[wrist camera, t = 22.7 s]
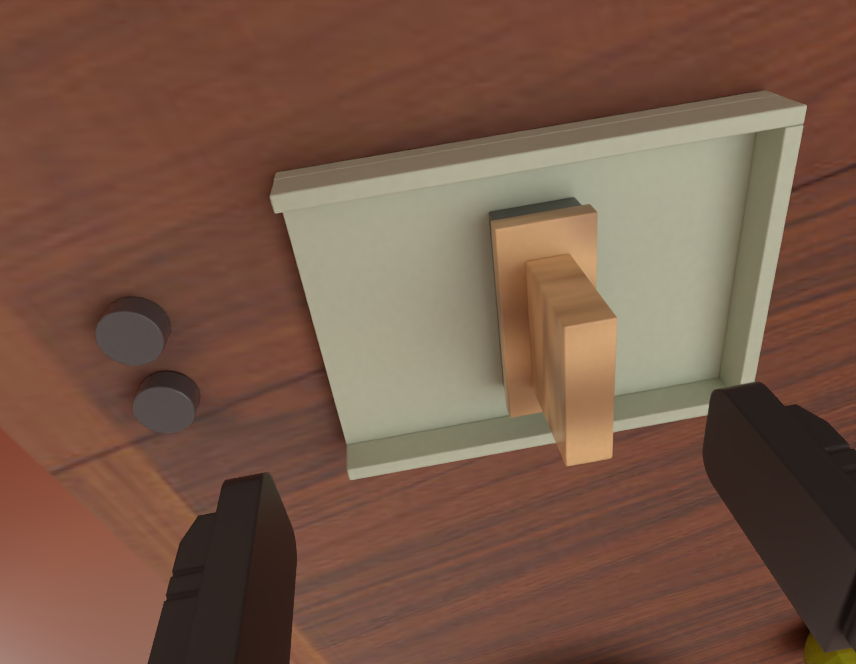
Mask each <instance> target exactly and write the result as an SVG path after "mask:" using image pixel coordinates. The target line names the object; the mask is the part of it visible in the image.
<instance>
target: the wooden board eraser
mask: <svg viewBox="0 0 856 664" xmlns="http://www.w3.org/2000/svg"><path fill="white" fill-rule="evenodd" d="M597 221H598V212H597V211H596V210H595V209H594V208H593V207H592V205H591V204H586V205H581V204H580V203H579V201H578V200H577V199H576V198H575V197H571V198H566V199H560V200H554V201H548V202H542V203H537V204H531V205H525V206H519V207H513V208H508V209H502V210H496V211H490V212H489V225H490V236H491V248H492V260H493V272H494V283H495V295H496V307H497V319H498V331H499V342H500V354H501V366H502V378H503V386H504V389H505V401H506V408H507V410H508V413H509V416H510V418H513V417H519V416H524V415H529V414H535V413H540V412H543V414H544V416H545V418H546V421H547V423H548V425H549V428H550V430H551V432H552V435H553V437H554V439H555V442H556V444H557V446H558V449H559V451H560V453H561V456H562V458H563V460H564V463H565V465H566V466H572V465H578V464H583V463H589V462H594V461H599V460H605V459H610V458H612V446H613V420H614V394H615V368H616V342H617V317H616V315H615V314H614V313H613V311H612V310H611V309H610V307H609V306H608V304H607V303H606V302H605V300H604V299H603V298H602V296H601V295H600V294H599V292H598V291H597V290H596V283H597Z"/></svg>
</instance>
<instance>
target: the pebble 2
mask: <svg viewBox="0 0 856 664" xmlns="http://www.w3.org/2000/svg"><path fill="white" fill-rule="evenodd" d="M199 402H200V393H199V390H198V388H197V386H196V385H195V383H194V382H193V381H192V380H190V379H189V378H188V377H186V376H184V375H182V374H179V373H176V372H169V371H164V372H158V373H154V374H152V375H150V376H148V377H147V378H146V379H145V380H144V381H143V382H142V383H141V385H140V387H139V390H138V392H137V394H136V396H135V399H134V401H133V413H134V415H135V417H136V419H137V420H138V421H139V422H140V423H141V424H142V425H143V426H145V427H146V428H148V429H150V430H153V431H156V432H160V433H175V432H179V431H181V430H183V429H185V428H187V427H188V426H189V425H190V424H191V423H192V422H193V420H194V418H195V415H196V411H197V408H198V405H199Z"/></svg>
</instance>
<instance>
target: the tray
mask: <svg viewBox="0 0 856 664" xmlns="http://www.w3.org/2000/svg"><path fill="white" fill-rule="evenodd" d="M806 108H807V105H805V104H802V103H799V102H796V101H793V100H791V99H788V98H785V97H782V96H779V95H778V94H775V93H772V92H769V91H766V90H764V91H758V92H752V93H746V94H740V95H734V96H728V97H722V98H716V99H710V100H704V101H698V102H692V103H686V104H680V105H675V106H669V107H663V108H657V109H651V110H645V111H639V112H633V113H627V114H621V115H615V116H609V117H603V118H597V119H591V120H585V121H579V122H573V123H567V124H561V125H556V126H550V127H544V128H538V129H532V130H526V131H520V132H514V133H508V134H502V135H496V136H490V137H484V138H478V139H472V140H466V141H460V142H454V143H448V144H442V145H436V146H431V147H425V148H419V149H413V150H407V151H401V152H395V153H389V154H383V155H377V156H371V157H365V158H359V159H353V160H347V161H341V162H335V163H329V164H323V165H317V166H312V167H306V168H300V169H294V170H288V171H282V172H276V174H275V178H274V183H273V186H272V190H271V193H270V200H271V204H272V207H273V211H274V213H282V212H283V215H284V219H285V223H286V226H287V230H288V234H289V237H290V241H291V245H292V248H293V252H294V256H295V259H296V263H297V266H298V270H299V274H300V277H301V281H302V285H303V288H304V292H305V296H306V299H307V303H308V306H309V310H310V314H311V317H312V321H313V325H314V328H315V332H316V336H317V339H318V343H319V346H320V350H321V354H322V357H323V361H324V365H325V368H326V372H327V376H328V379H329V383H330V386H331V390H332V394H333V397H334V401H335V405H336V408H337V412H338V416H339V419H340V423H341V426H342V430H343V434H344V437H345V441H346V445H347V473H348V476H349V479H350V480H355V479H360V478H366V477H371V476H377V475H382V474H387V473H393V472H398V471H404V470H409V469H415V468H420V467H426V466H431V465H437V464H442V463H448V462H453V461H458V460H464V459H469V458H475V457H480V456H486V455H491V454H497V453H502V452H508V451H513V450H519V449H524V448H529V447H535V446H540V445H546V444H551V443H556V442H555V439H554V437H553V435H552V432H551V430H550V428H549V425H548V423H547V421H546V418H545V416H544V414H543V412H540V413H535V414H529V415H524V416H519V417H513V418H510V416H509V413H508V410H507V408H506V401H505V389H504V386H503V378H502V366H501V354H500V342H499V331H498V319H497V307H496V295H495V283H494V272H493V260H492V248H491V236H490V225H489V212H490V211H496V210H502V209H508V208H513V207H519V206H525V205H531V204H537V203H542V202H548V201H554V200H560V199H566V198H571V197H575V198H576V199H577V200H578V201H579V203H580V204H581V205H586V204H591V205H592V207H593V208H594V209H595V210H596V211H597V212H598V221H597V283H596V290H597V291H598V292H599V294H600V295H601V296H602V298H603V299H604V300H605V302H606V303H607V304H608V306H609V307H610V309H611V310H612V311H613V313H614V314H615V315H616V317H617V342H616V368H615V394H614V420H613V432H617V431H622V430H628V429H633V428H639V427H644V426H650V425H655V424H661V423H666V422H671V421H677V420H682V419H688V418H693V417H699V416H704V415H708V408H709V401H710V396H711V393H712V392H713V390H715V389H719V388H724V387H729V386H735V385H740V384H745V383H750V382H754V381H755V376H756V370H757V365H758V360H759V355H760V350H761V344H762V339H763V334H764V329H765V323H766V318H767V313H768V308H769V303H770V297H771V292H772V287H773V282H774V277H775V271H776V266H777V261H778V256H779V251H780V245H781V240H782V235H783V230H784V225H785V219H786V214H787V209H788V204H789V198H790V193H791V188H792V183H793V178H794V172H795V167H796V162H797V157H798V152H799V146H800V141H801V136H802V131H803V125H802V124H803V123H804V119H805V114H806Z"/></svg>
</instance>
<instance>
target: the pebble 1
mask: <svg viewBox="0 0 856 664" xmlns="http://www.w3.org/2000/svg"><path fill="white" fill-rule="evenodd" d="M170 330H171V327H170V321H169V319H168V317H167V315H166V313H165V312H164V311H163V310H162V309H161V308H160V307H159V306H158V305H156V304H155V303H153V302H151V301H149V300H146V299H143V298H138V297H127V298H122V299H119V300H117V301H115V302H113V303H112V304H111V305H110V306H109V307H108V309H107V310H106V312H105V313H104V315H103V316H102V318H101V320H100V321H99V323H98V324H97V327H96V330H95V337H96V341H97V344H98V346H99V347H100V349H101V350H102V351H103V352H104V353H105V354H106V355H107V356H108V357H110V358H111V359H113V360H115V361H117V362H119V363H122V364H126V365H144V364H147V363H150V362H152V361H154V360H155V359H156V358H157V357H159V355H160V354H161V353H162V351H163V348H164V346H165V344H166V342H167V339H168V337H169V334H170Z"/></svg>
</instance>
